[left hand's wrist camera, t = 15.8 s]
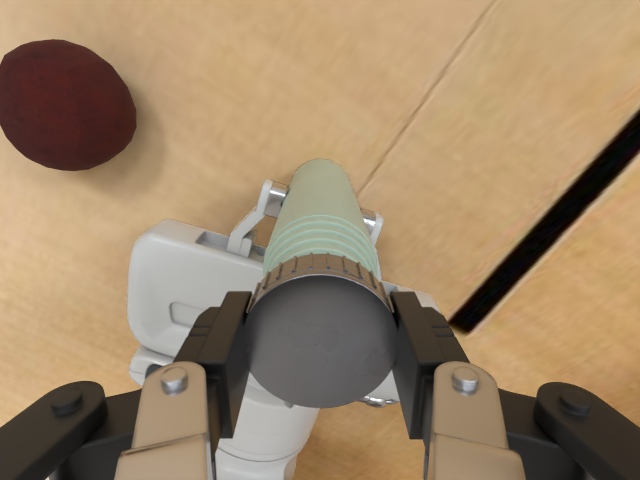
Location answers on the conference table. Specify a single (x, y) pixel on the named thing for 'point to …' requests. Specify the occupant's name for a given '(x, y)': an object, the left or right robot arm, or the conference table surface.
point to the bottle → (320, 219)
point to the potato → (64, 105)
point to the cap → (320, 331)
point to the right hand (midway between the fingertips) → (324, 198)
